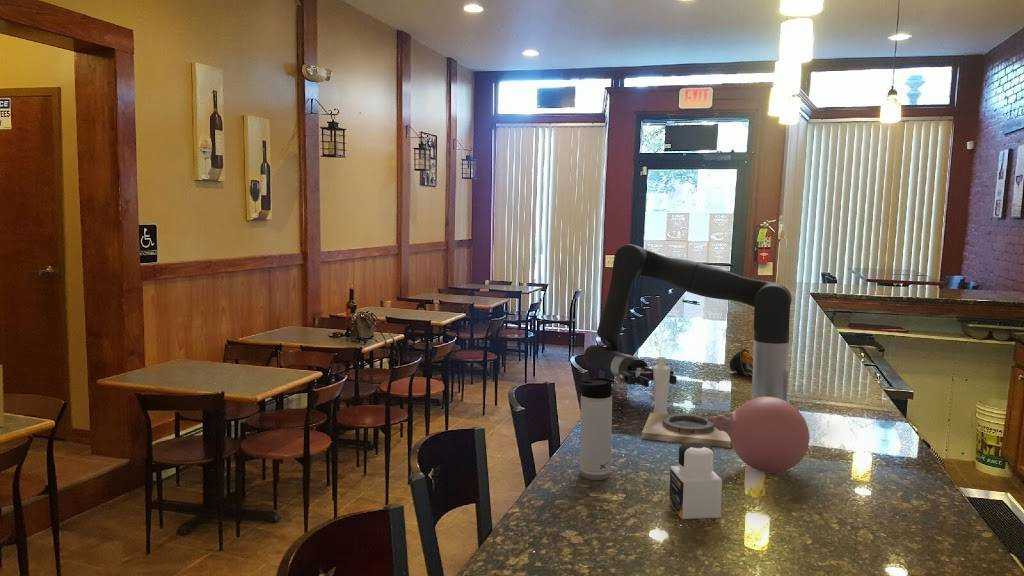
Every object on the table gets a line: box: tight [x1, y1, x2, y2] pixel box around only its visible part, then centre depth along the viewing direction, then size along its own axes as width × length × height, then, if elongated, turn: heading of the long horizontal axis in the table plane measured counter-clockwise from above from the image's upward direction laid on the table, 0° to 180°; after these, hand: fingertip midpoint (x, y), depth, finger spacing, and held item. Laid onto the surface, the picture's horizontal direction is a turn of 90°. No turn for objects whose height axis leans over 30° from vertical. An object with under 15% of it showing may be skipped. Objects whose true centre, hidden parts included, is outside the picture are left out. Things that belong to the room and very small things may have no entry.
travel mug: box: [579, 377, 615, 481], centre depth 139 cm, size 6×7×20 cm
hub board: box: [641, 412, 732, 449], centre depth 167 cm, size 20×17×3 cm
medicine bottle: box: [668, 442, 723, 520], centre depth 123 cm, size 7×7×12 cm
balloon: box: [707, 397, 810, 474], centre depth 143 cm, size 15×20×15 cm
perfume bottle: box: [652, 356, 672, 414], centre depth 182 cm, size 5×4×15 cm
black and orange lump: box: [729, 348, 753, 378], centre depth 222 cm, size 9×11×18 cm
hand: (661, 381), depth 182 cm, fingers open, 8 cm apart
